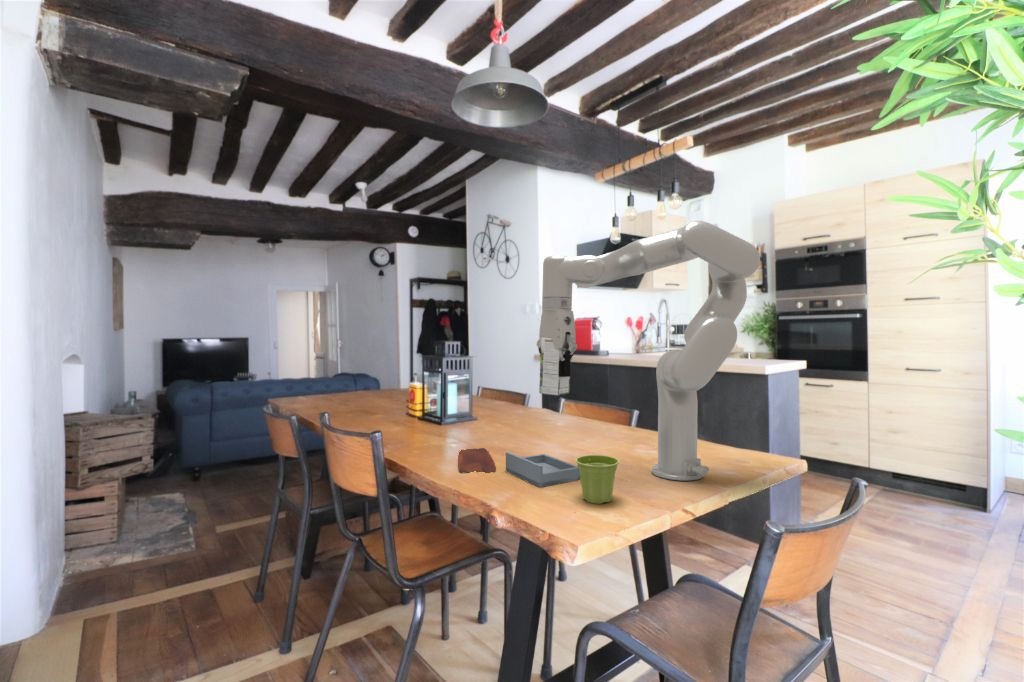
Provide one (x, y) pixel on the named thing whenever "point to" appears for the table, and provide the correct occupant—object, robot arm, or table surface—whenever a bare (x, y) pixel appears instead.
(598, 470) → the plant pot
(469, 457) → the wooden tablet
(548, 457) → the tray
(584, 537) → the table surface
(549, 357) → the syrup box
